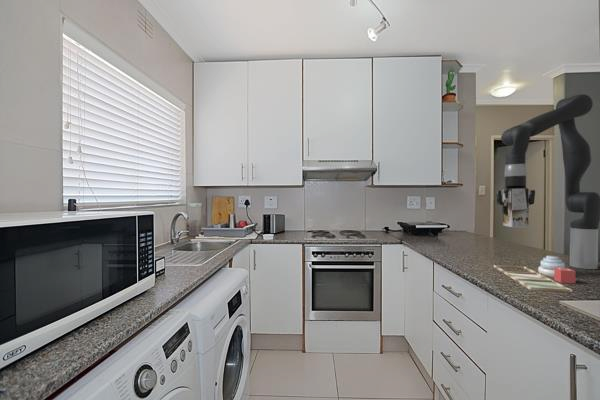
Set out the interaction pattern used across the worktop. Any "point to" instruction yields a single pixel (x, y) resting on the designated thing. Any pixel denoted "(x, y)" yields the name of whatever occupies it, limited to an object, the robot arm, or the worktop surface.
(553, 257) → the dome
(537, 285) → the wooden divided tray
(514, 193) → the coffee box
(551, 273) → the dome base
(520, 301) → the worktop surface
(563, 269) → the red die
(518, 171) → the robot arm
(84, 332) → the worktop surface
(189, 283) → the worktop surface
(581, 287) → the worktop surface
